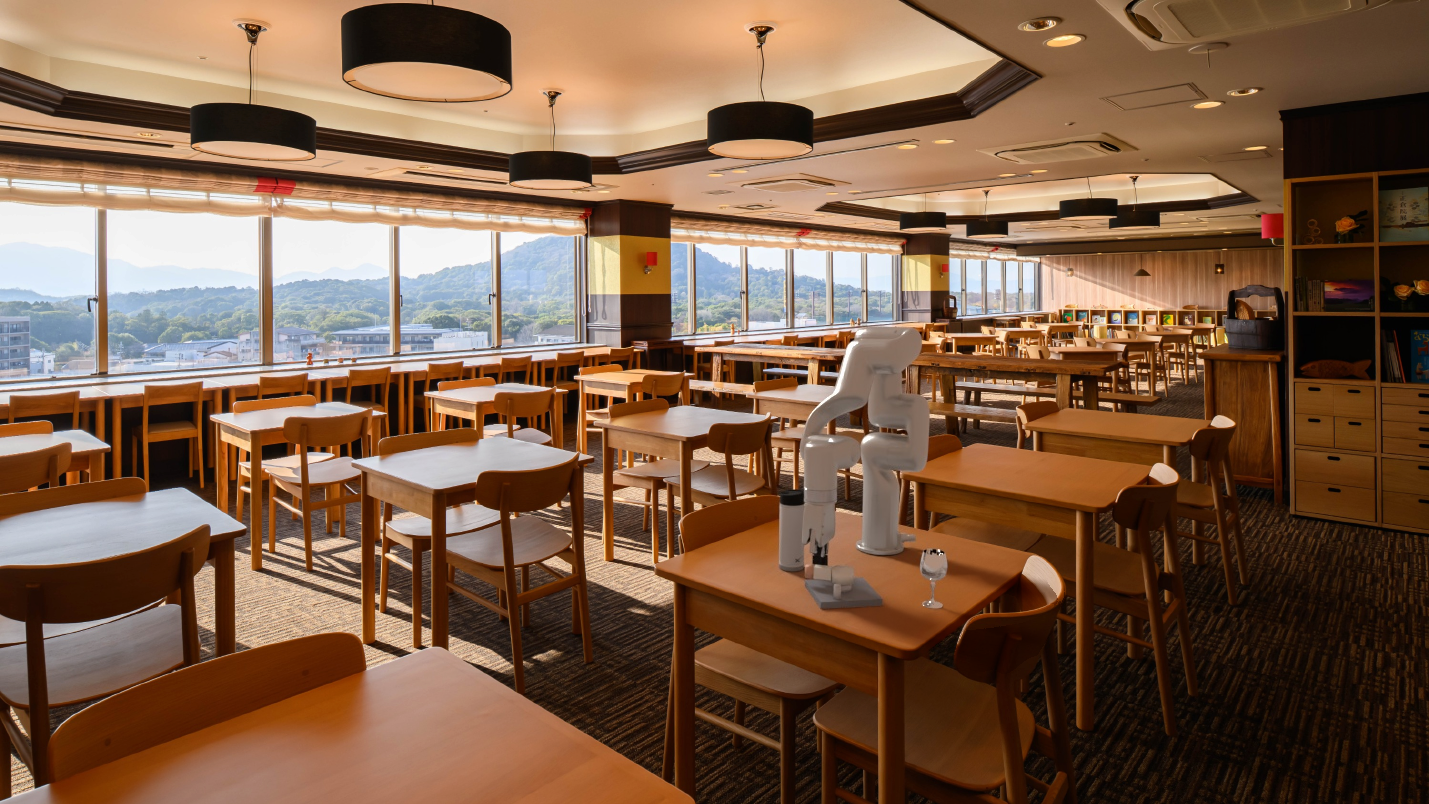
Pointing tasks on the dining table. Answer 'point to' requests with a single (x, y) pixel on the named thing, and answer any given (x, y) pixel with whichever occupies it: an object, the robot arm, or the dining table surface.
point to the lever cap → (831, 573)
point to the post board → (843, 594)
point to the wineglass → (933, 571)
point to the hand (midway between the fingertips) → (820, 571)
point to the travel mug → (791, 530)
